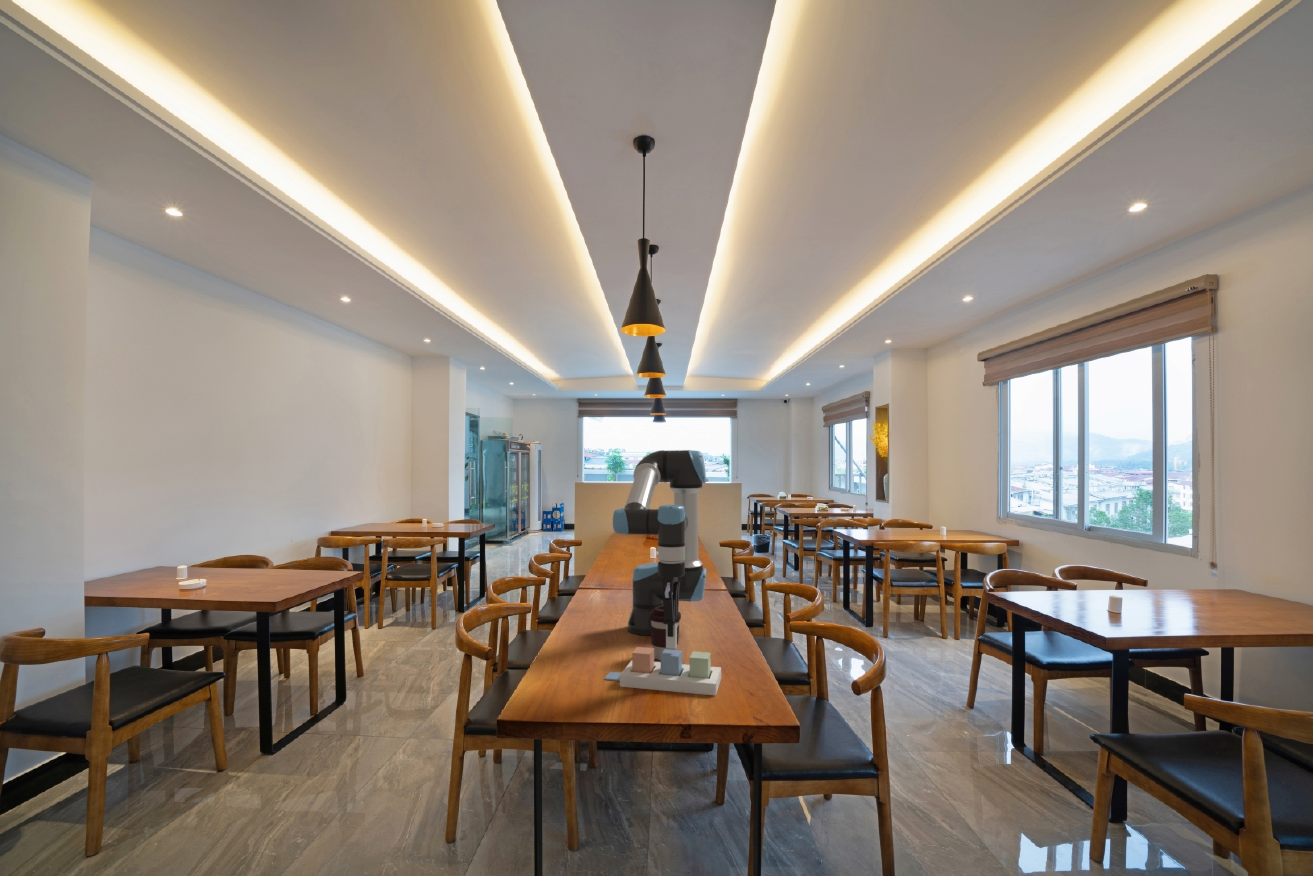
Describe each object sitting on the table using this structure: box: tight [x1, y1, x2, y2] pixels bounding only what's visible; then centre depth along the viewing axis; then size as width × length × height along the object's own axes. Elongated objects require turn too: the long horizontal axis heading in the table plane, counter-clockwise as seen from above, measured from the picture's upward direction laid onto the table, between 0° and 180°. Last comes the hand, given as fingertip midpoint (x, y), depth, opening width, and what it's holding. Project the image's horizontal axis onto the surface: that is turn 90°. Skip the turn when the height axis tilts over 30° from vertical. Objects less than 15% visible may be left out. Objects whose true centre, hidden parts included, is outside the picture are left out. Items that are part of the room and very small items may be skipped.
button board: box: [619, 659, 722, 697], centre depth 155 cm, size 12×26×3 cm, turn 77°
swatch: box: [604, 671, 622, 682], centre depth 158 cm, size 5×5×1 cm
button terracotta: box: [631, 646, 655, 673], centre depth 157 cm, size 5×5×5 cm
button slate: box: [660, 649, 683, 676], centre depth 155 cm, size 5×5×5 cm
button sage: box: [689, 651, 712, 679], centre depth 153 cm, size 5×5×5 cm
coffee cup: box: [649, 606, 682, 661], centre depth 175 cm, size 10×10×15 cm
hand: (671, 647), depth 155 cm, fingers closed
